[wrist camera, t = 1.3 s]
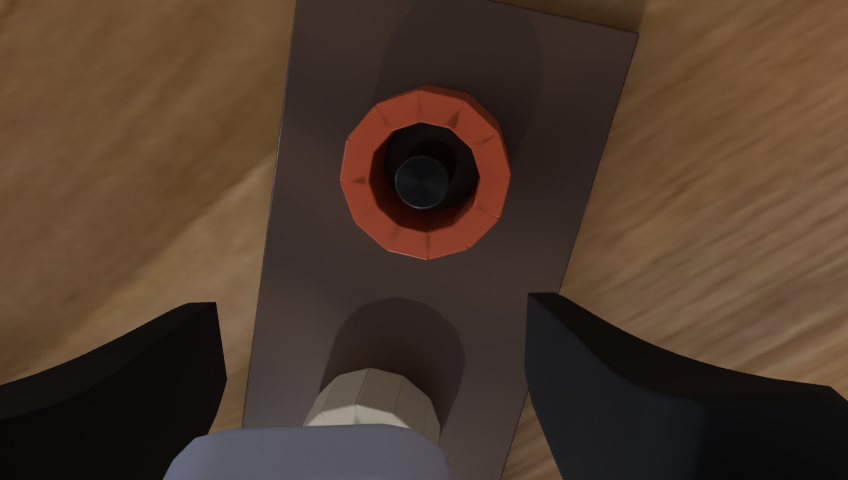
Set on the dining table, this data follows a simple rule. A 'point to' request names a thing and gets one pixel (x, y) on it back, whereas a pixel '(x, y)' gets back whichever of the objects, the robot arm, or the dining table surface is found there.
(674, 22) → the dining table surface
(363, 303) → the ring board
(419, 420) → the cream ring
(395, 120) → the red ring
